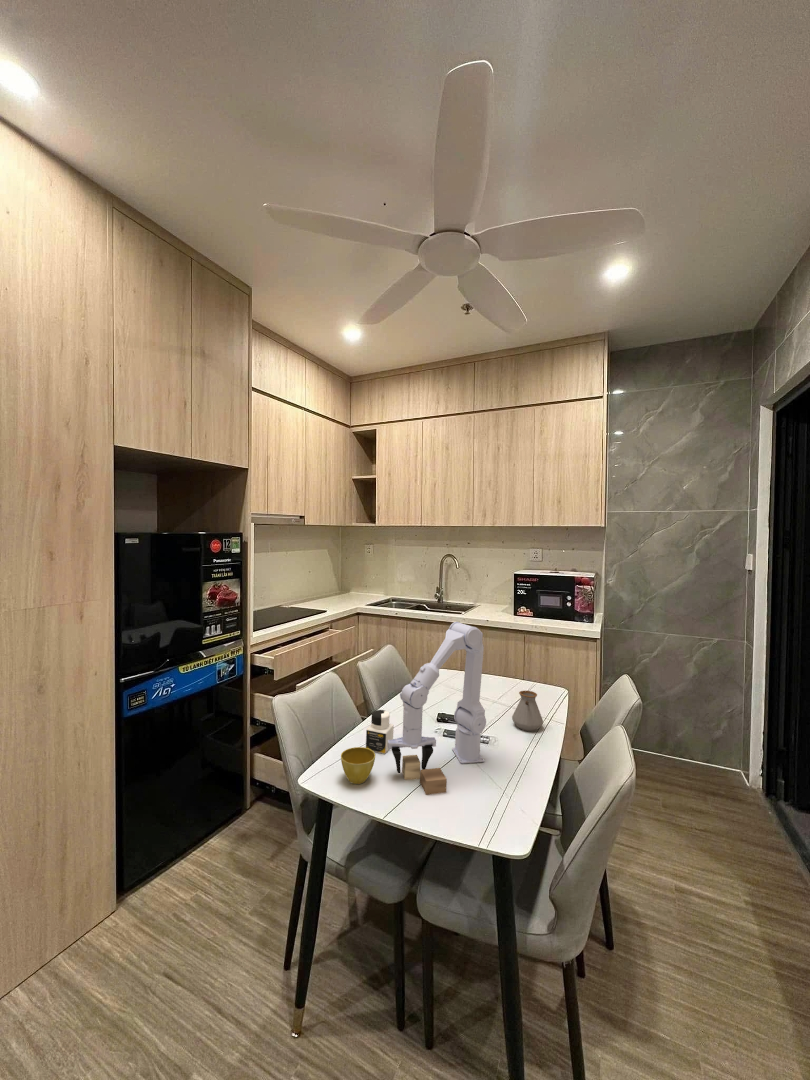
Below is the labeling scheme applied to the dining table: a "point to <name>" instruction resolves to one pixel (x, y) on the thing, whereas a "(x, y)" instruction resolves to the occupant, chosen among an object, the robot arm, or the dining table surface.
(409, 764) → the beech cube
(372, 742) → the medicine bottle
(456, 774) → the dining table surface
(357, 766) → the flower pot
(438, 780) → the walnut plinth
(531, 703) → the coffee pot
